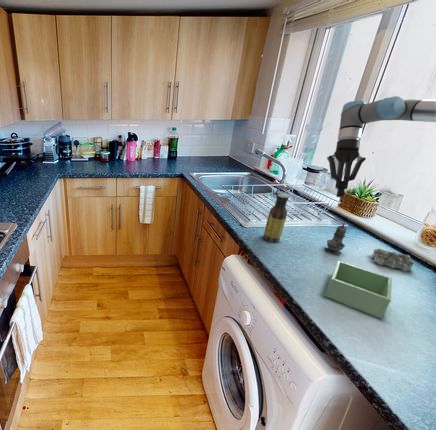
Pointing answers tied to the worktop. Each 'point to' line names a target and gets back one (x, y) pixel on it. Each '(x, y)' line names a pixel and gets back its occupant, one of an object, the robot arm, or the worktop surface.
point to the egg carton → (392, 259)
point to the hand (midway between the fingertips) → (339, 196)
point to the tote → (360, 288)
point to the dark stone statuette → (336, 241)
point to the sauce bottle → (276, 219)
